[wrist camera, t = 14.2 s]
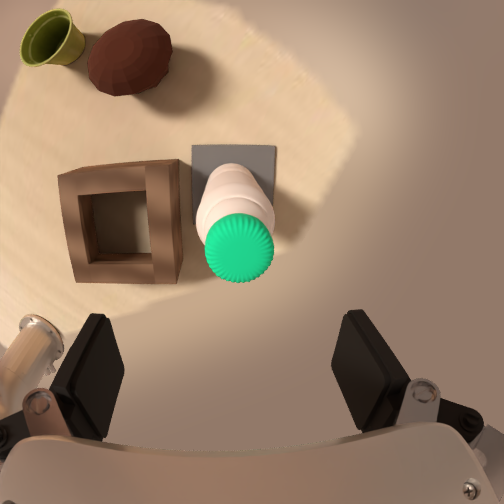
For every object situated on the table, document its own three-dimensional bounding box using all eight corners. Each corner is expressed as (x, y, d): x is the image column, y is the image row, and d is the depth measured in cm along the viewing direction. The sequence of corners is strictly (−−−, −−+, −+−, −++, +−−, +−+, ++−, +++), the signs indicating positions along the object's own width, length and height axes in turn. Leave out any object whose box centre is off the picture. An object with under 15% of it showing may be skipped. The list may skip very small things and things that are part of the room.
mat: (271, 223, 45) (271, 223, 45) (193, 223, 44) (193, 224, 43) (274, 145, 40) (275, 145, 40) (192, 145, 39) (191, 145, 39)
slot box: (183, 259, 46) (176, 283, 39) (94, 260, 44) (75, 282, 37) (178, 159, 40) (168, 164, 32) (82, 167, 38) (57, 175, 31)
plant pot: (65, 20, 27) (40, 6, 19) (105, 28, 29) (83, 11, 22) (40, 68, 30) (10, 62, 22) (77, 79, 32) (49, 72, 24)
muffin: (183, 31, 32) (172, 5, 23) (177, 97, 36) (163, 87, 27) (109, 39, 30) (82, 20, 21) (102, 104, 35) (72, 99, 26)
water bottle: (247, 156, 40) (279, 189, 17) (260, 201, 43) (302, 285, 20) (200, 171, 40) (169, 222, 18) (215, 215, 43) (207, 312, 20)
